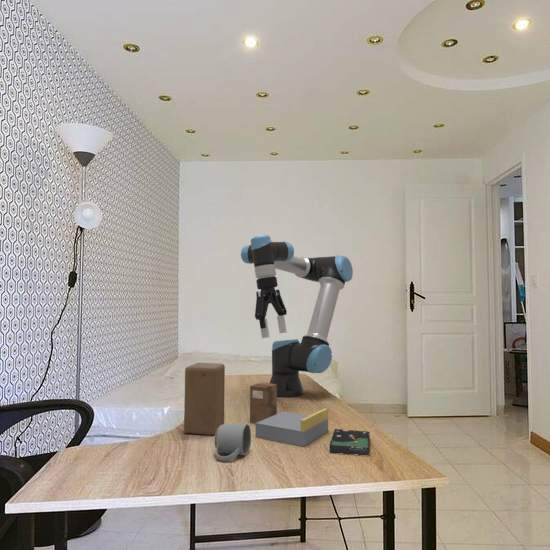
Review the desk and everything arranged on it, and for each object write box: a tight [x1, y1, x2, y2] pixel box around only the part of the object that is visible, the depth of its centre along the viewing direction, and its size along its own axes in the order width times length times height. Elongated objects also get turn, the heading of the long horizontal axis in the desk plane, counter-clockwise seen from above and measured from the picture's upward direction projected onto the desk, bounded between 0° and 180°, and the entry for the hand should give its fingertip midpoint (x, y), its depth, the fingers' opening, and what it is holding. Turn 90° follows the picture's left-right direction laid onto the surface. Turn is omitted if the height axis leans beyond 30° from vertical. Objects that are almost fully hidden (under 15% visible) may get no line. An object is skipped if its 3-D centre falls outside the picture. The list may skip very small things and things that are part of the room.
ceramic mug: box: [214, 423, 252, 463], centre depth 113 cm, size 11×8×8 cm
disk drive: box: [329, 428, 371, 456], centre depth 121 cm, size 10×3×15 cm
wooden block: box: [183, 362, 226, 436], centre depth 135 cm, size 10×10×20 cm
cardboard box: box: [249, 382, 278, 425], centre depth 145 cm, size 7×6×12 cm
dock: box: [255, 407, 329, 447], centre depth 131 cm, size 16×16×7 cm
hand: (274, 335), depth 158 cm, fingers open, 13 cm apart
